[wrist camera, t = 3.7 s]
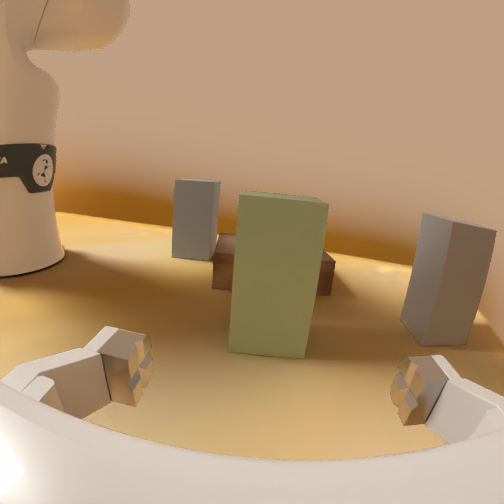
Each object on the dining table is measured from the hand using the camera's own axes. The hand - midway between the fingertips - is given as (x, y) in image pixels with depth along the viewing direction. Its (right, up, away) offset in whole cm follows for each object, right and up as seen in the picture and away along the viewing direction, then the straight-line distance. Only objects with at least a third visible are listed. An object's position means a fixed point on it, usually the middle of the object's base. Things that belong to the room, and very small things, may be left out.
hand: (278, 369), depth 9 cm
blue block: (-9, +3, +32) cm, 34 cm away
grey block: (+15, -4, +14) cm, 21 cm away
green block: (0, -3, +13) cm, 13 cm away
